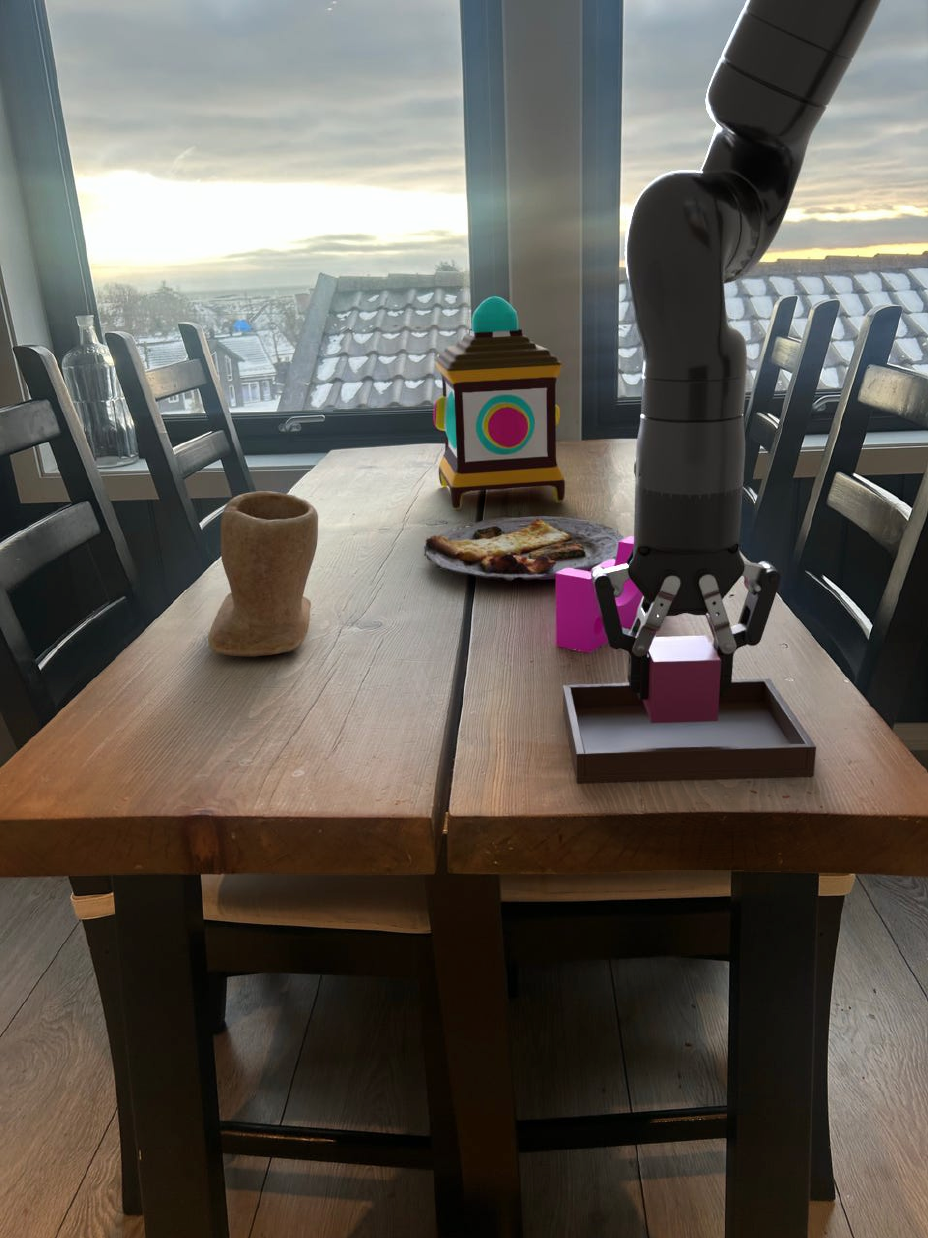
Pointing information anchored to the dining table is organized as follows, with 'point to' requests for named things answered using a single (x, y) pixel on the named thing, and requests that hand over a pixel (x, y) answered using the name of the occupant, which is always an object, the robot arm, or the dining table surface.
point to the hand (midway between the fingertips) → (678, 694)
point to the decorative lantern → (498, 408)
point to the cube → (683, 680)
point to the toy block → (591, 604)
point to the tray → (684, 737)
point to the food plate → (523, 547)
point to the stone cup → (265, 574)
